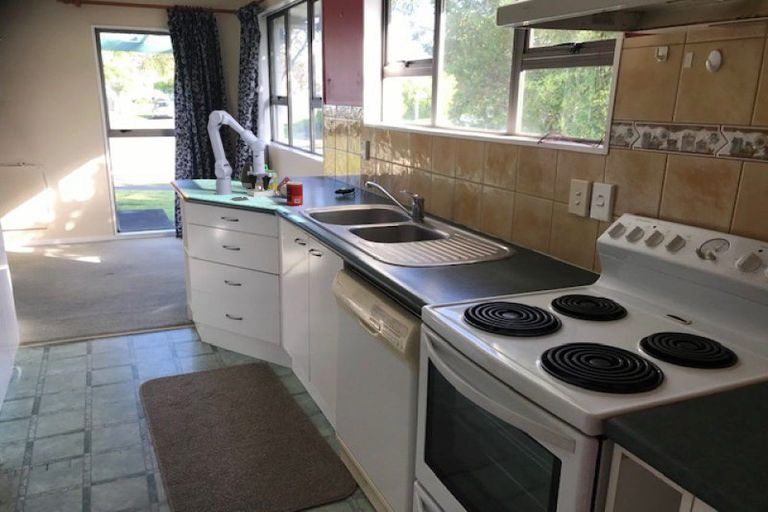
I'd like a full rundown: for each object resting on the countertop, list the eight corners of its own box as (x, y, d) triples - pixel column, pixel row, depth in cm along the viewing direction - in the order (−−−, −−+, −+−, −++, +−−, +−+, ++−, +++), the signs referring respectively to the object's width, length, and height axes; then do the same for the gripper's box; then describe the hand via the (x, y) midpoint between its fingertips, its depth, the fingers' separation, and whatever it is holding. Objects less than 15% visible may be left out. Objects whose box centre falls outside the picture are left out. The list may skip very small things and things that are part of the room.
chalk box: (269, 192, 322) (268, 165, 318) (255, 191, 325) (254, 165, 321) (278, 190, 330) (277, 164, 326) (264, 189, 333) (263, 163, 329)
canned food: (305, 204, 286) (305, 181, 284) (298, 206, 279) (297, 183, 276) (291, 203, 289) (291, 181, 286) (284, 205, 281) (283, 183, 279)
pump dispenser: (262, 187, 340) (261, 161, 336) (249, 189, 331) (248, 163, 327) (250, 186, 345) (249, 160, 341) (237, 188, 337) (235, 161, 333)
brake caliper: (301, 191, 310) (296, 175, 300) (296, 206, 303) (290, 190, 294) (282, 190, 312) (276, 174, 303) (276, 205, 306) (269, 189, 296)
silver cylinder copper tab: (258, 194, 312) (257, 182, 310) (264, 194, 310) (264, 182, 308) (253, 195, 308) (253, 183, 306) (259, 195, 306) (259, 183, 305)
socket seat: (229, 200, 295) (229, 197, 295) (244, 199, 299) (244, 196, 299) (234, 202, 288) (234, 199, 288) (250, 201, 293) (250, 198, 292)
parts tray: (246, 195, 311) (246, 189, 311) (266, 193, 317) (265, 188, 317) (254, 198, 303) (254, 192, 302) (274, 196, 308) (273, 190, 308)
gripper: (243, 163, 305) (244, 189, 309) (265, 165, 299) (266, 191, 302) (251, 162, 311) (253, 187, 315) (273, 164, 305) (274, 189, 309)
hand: (260, 189), depth 309 cm, fingers open, 7 cm apart
